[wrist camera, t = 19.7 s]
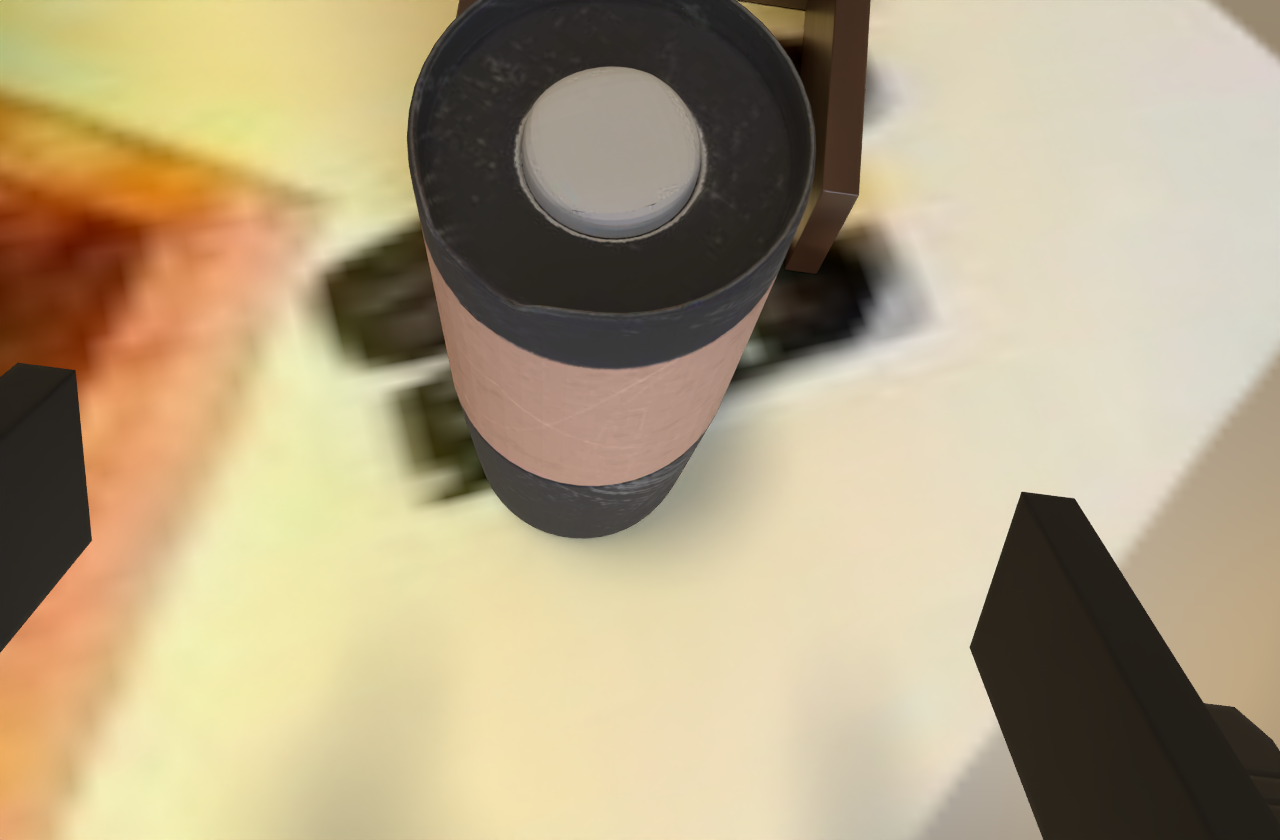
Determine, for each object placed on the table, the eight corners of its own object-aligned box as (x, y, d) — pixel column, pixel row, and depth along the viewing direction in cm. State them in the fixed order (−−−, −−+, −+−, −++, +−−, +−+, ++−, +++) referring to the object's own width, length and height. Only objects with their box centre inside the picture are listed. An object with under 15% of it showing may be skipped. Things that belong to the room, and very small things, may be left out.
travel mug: (683, 332, 41) (802, -50, 22) (699, 542, 39) (847, 320, 20) (468, 338, 40) (398, -51, 21) (472, 553, 38) (398, 333, 19)
